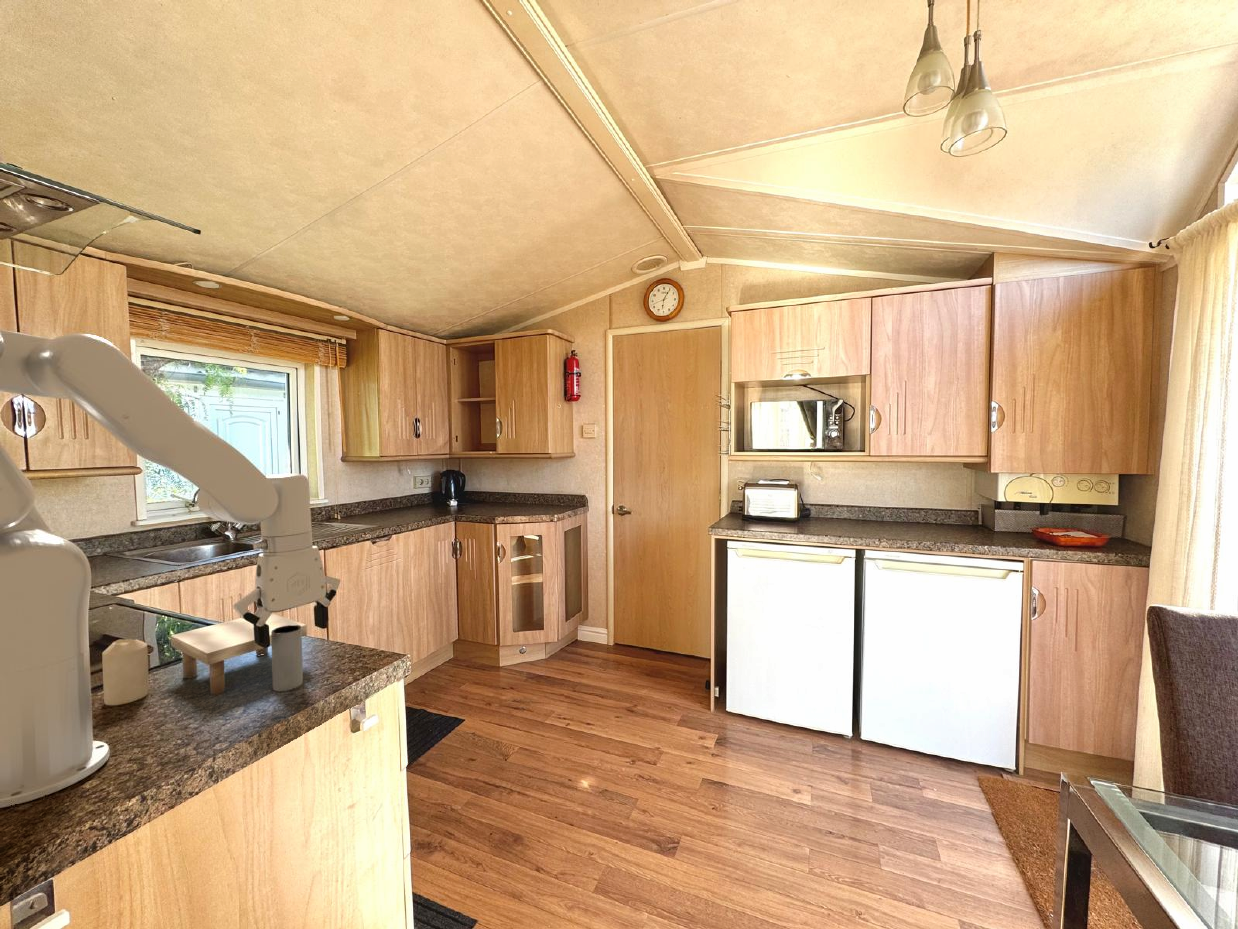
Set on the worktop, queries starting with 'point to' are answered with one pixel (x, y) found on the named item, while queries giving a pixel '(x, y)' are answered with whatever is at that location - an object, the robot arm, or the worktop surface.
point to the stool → (222, 646)
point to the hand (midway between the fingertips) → (293, 636)
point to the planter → (287, 657)
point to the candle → (125, 672)
